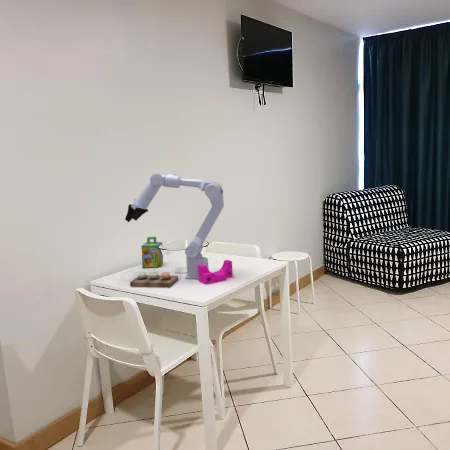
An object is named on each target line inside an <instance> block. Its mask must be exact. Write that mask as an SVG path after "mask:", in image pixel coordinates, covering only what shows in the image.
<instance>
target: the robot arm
mask: <svg viewBox="0 0 450 450" xmlns="http://www.w3.org/2000/svg"><path fill="white" fill-rule="evenodd" d="M181 186H184V187H189V188H198V189H199V190H200V191H201V192H204V194H205V195H206V197H207V199H209V202H210V204H211V207H210V209H209V211H208V213H207V214H206V217H205V218H204V220H203V222H202V223H201V226H200V227H199V229H198V231H197V233H196V235H194V236H195V237H194V238H193V239H192V241H191V242H190V243H189V244H188V245H187V246H186V247H185V249H184V254H185V255H186V256H185V258H186V272H187V274H186V275H185V276H184V279H198V280H199V276H198V265H201V264H204V265H207V267H208V268H209V259H208V258H207V257H204V256H203V255H202V253H201V252H202V251H203V245H204V243H205V241H206V239H207V237H208V235H209V234H210V232H211V230H212V228H213V226H214V225H215V223H216V221H217V219H218V217H219V216H220V214H221V213H222V210H223V209H224V206H225V205H224V203H225V202H224V190H223V188H222V186H221V184H220V183H218V182H217V181H214V182H213V181H211V180H208V179H207V180H206V179H196V178H195V179H194V178H183V177H181V176H180V174H178V173H175V172H174V173H173V174H172V173H170V174H169V173H166V172H156V173H153V174H152V175H151V176H150V178H149V181H148V183H147V184H146V185H145V187H144V188H143V190H141V193H140V194H139V196H138V197H137V198H133V201H134V202H133V203H132V204H130V203H129V204H128V206H127V212H126V215H125V218H124V220H125V221H126V222H128V223H130V222H131V221H132V220H133V221H135V222H136V221H138V220H139V219H140V218H141V217H142V216H143V215H144V214H146V213H147V212H149V209H148V208H149V206H150V204H151V203H152V201H153V199H155V197H156V195H157V194H158V192H159V190H160V188H161V187H164V188H173V189H180V187H181Z"/></svg>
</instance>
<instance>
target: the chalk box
mask: <svg viewBox="0 0 450 450" xmlns="http://www.w3.org/2000/svg"><path fill="white" fill-rule="evenodd" d="M151 240H153V241H151ZM160 245H162V246H163V242H161V241H157V237H156V236H148V237H147V238H146V242H144V243H143V244H142V245H141V262H142V265H141V266H142V269H153V268H154V269H155V268H156V269H160V268H161V267H162V266H163V264H164V255H163V254H162V252H161V250H160V249H159V246H160ZM159 267H160V268H159Z"/></svg>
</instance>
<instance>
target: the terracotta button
mask: <svg viewBox="0 0 450 450" xmlns="http://www.w3.org/2000/svg"><path fill="white" fill-rule="evenodd" d="M161 276H162V278H169V277H170V276H171V272H162V273H161Z"/></svg>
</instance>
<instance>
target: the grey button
mask: <svg viewBox="0 0 450 450" xmlns="http://www.w3.org/2000/svg"><path fill="white" fill-rule="evenodd" d="M146 276H147V271H141V272H140V271H139V272H138V273H137V277H139V278H143V277H146Z"/></svg>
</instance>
